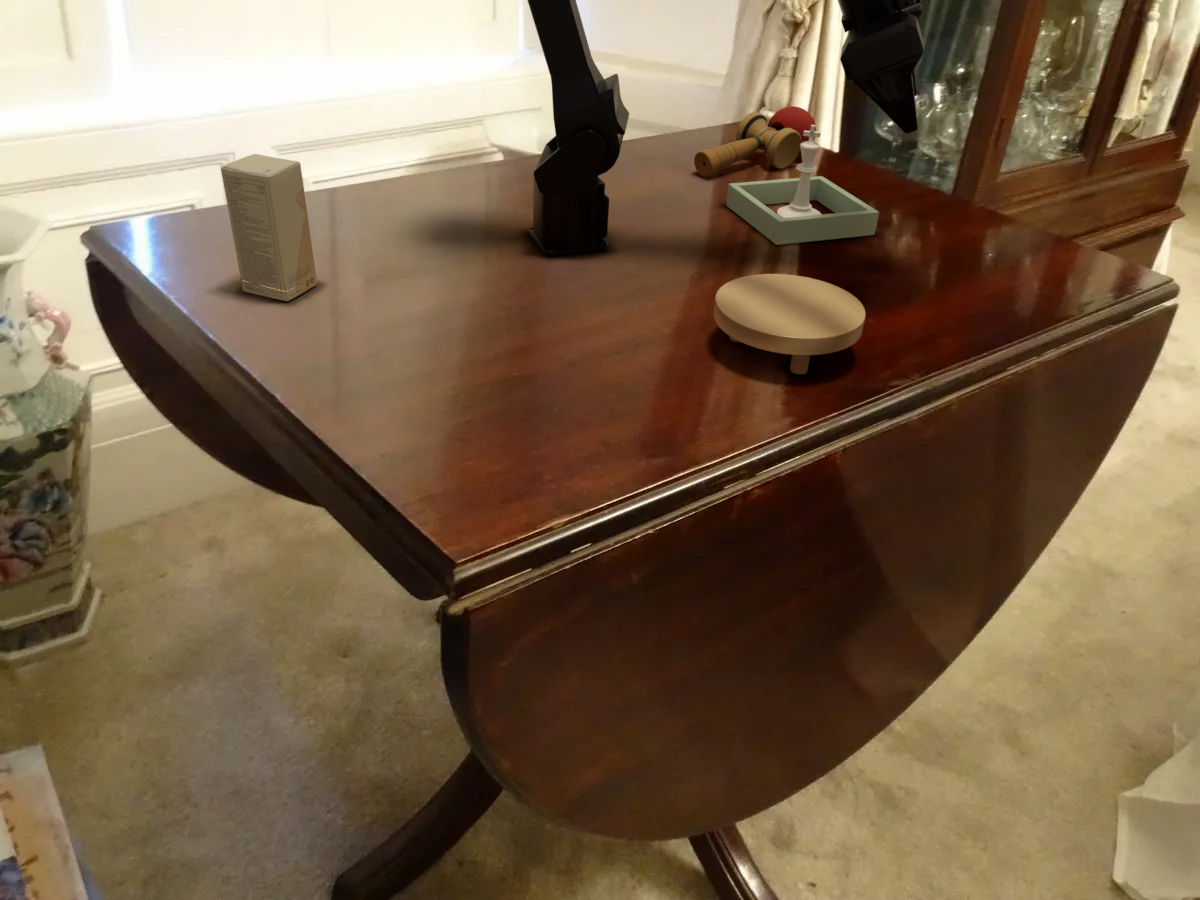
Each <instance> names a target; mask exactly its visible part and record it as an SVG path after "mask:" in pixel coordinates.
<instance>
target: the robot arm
mask: <svg viewBox="0 0 1200 900" xmlns="http://www.w3.org/2000/svg"><path fill="white" fill-rule="evenodd" d="M837 3H838V5H839V8H840V11H841V19H840V21H841V25H842V29H843V30H844V33H847V32H848V34H847V36H846V38H845V40H844V42H843V45H842V47H841V51H840V56H839V57H840V58H839V60H840V63H841V67H842V69H843V71H844V75H845V77H846V81H850V82H851V83H852V84H853V86H857V88H859V89H860V90H861V91H862V92H864V94H865V95H866V96H867V97H868V98H870V100H871V101H872V102H873V103H875V105H876V106H877V107H879V108H880V110H882V111H883V113H884V114H885V115H887V117H888V118H889V119H891V121H892V122H893V123H894V124H896V126H898V128H899V129H900V130H901V131H902V132H903V133H904V134H906V135H907V134H911V133H914V132H916V131H917V130H918V129H919V123H918V114H917V107H916V106H917V105H916V98H915V97H916V96H917V94H918V91H917V80H916V70H915V69H916V67H917V65H918V63H919V61H920V60H922V58H923V56H924V54H925V44H924V43H925V42H924V38H923V34H922V30H921V26H920V24H919V19H920V17H921V15H922V12H923V5H922V0H837ZM527 4H528V6H529V10H530V13H531V17H532V20H533V23H534V27H535V30H536V33H537V36H538V39H539V42H540V46H541V49H542V53H543V56H544V59H545V62H546V65H547V70H548V72H549V76H550V81H551V95H552V97H551V98H552V113H553V117H552V118H553V123H554V132H555V136H553V137H552V138H551V139H550V140H549V141H548V142H547V143H546V144H545V145H544V148H543V150H542V152H541V155H540V157H539V159H538V162H537V164H536V166H535V168H534V171H533V174H532V175H533V202H532V203H533V204H532V205H533V209H532V210H533V212H532V213H533V214H532V216H533V217H532V219H533V220H532V221H533V222H532V226H529V227H527V234H528V235H529V236H530V237H531V239H532V240H533V242H534V243H536V245H537V246H538V247H539V248H540V250H541V252H542V253H543V254H544V255H545V256H558V255H569V254H579V253H589V252H590V253H591V252H599V251H607V250H609V243H608V242H607V240H606V239H604V238H607V237H608V231H609V229H608V228H609V212H610V211H609V210H610V197H609V196H608V195H607V194H605V193H606V182H604V181H603V179H601V178H600V177H599V176H601V175H603V174H606V173H607V172H609V171H610V170H611V169H612V168H613V167H614V166H615V164H616V162H617V161H618V159H619V157H620V153H621V149H622V145H623V139H624V135H626V130H627V126H628V121H629V117H630V112H629V110H628V109H627V108H626V106H625V105H624V102H623V100H622V95H621V89H620V79H619V74H618V73H613V74H611V75H610V76H608V77H606V78H604V76H603V74H602V73H601V71H600V70H599V68H598V66H597V65H596V63H595V61H594V59H593V57H592V56H593V55H592V53H591V50H590V47H589V43H588V38H587V35H586V32H585V29H584V24H583V21H582V18H581V14H580V10H579V6H578V3H577V0H527Z"/></svg>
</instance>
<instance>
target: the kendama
mask: <svg viewBox="0 0 1200 900" xmlns="http://www.w3.org/2000/svg"><path fill="white" fill-rule="evenodd" d="M811 125H815V132H817V127H816V126H817V125H816V122H815V120H814V118H813V116H812V115H811V114H810V113H809V111H808V110H806V109H804V108H802V107H799V106H793V105H791V106H786V107H785V106H784V107H783V108H781V109H779V110H777V111H776V112H775V113H774V114H773V115H772V116H771V117H770V118H769V121H768V118H766V116H765V115H764V114H762V113H760V112H757V111H752V112H750V113H748V114H747V115H745V116H744V117H743V118H742V119H741V121H740V123H739V124H738V126H737V128H736V133H735V139H736V140H735V141H732V142H728V143H725V144H722V145H718V146H715V147H712V148H711V147H710V148H707V149H704V150H700V151H697V152H696V154H695V155H694V159H693V163H694V168H695V171H696V172H697V173H698V174H699V176H701V177H703V178H708V177H710V176H712V175H714V174H716V173H717V172H719V171H721V170H723V169H725V168H727V167H730V166H731V165H733V164H735V163H737V162H739V161H741V160H743V159H745V158H746V157H748V156H749V155H751V154H753V153H754V152H757V151H758V150H761V151H765V153H766V161H767V163H768V164H769V165H770V166H771V167H773V168H775V169H778V170H783V169H786V168H787V167H789V166H790V165H791V164H793V162H794V161H795V159H796V158H797V157H798V156H802V154H801V149H800V144H801V143H802V142H806V141H809V136H803V134H804V130H805V131H810V129H811ZM815 139H816V137H814V138H813V142H815Z"/></svg>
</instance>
